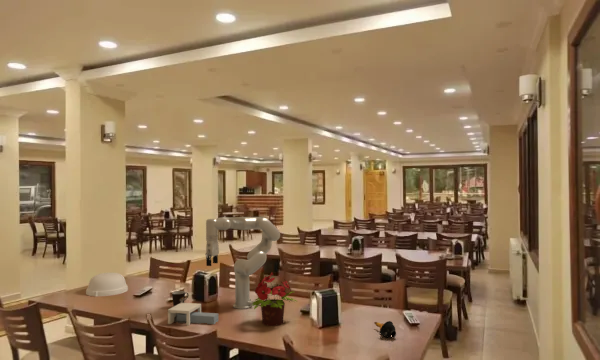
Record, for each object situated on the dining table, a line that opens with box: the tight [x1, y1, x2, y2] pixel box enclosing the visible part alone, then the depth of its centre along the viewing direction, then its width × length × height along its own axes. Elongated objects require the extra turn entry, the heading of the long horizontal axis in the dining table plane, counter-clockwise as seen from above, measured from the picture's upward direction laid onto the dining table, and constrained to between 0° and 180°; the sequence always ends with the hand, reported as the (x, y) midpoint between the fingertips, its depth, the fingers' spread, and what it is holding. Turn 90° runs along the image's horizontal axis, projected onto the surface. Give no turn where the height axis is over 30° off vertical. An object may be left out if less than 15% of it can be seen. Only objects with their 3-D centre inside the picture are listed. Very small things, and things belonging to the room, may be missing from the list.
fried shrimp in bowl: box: [373, 320, 397, 339], centre depth 237 cm, size 9×11×18 cm
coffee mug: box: [171, 290, 189, 307], centre depth 292 cm, size 12×9×10 cm
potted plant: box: [252, 271, 297, 327], centre depth 256 cm, size 30×27×30 cm
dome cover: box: [85, 272, 129, 298], centre depth 338 cm, size 32×30×14 cm
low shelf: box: [167, 302, 202, 326], centre depth 263 cm, size 14×16×8 cm
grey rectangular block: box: [177, 311, 219, 325], centre depth 261 cm, size 24×6×4 cm, turn 77°
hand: (212, 264), depth 282 cm, fingers open, 9 cm apart
